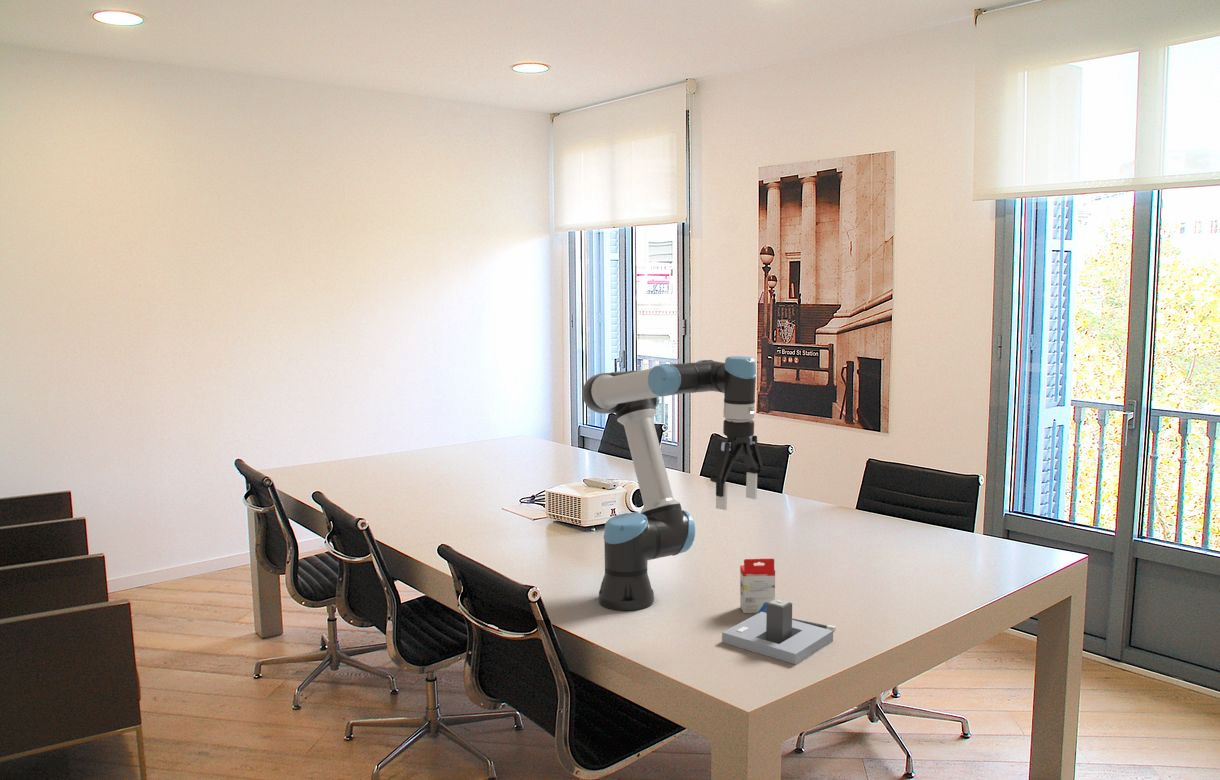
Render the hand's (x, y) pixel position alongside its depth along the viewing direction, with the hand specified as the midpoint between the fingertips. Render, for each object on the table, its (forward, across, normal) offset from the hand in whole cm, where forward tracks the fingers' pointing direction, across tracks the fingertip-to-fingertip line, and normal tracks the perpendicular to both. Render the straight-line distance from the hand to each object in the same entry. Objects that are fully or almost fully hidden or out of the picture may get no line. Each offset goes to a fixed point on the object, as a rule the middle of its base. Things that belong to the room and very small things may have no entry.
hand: (736, 503), depth 225 cm
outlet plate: (+31, -3, -14) cm, 34 cm away
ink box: (+32, +12, 0) cm, 34 cm away
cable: (+31, +11, -14) cm, 36 cm away
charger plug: (+31, -4, -15) cm, 35 cm away
